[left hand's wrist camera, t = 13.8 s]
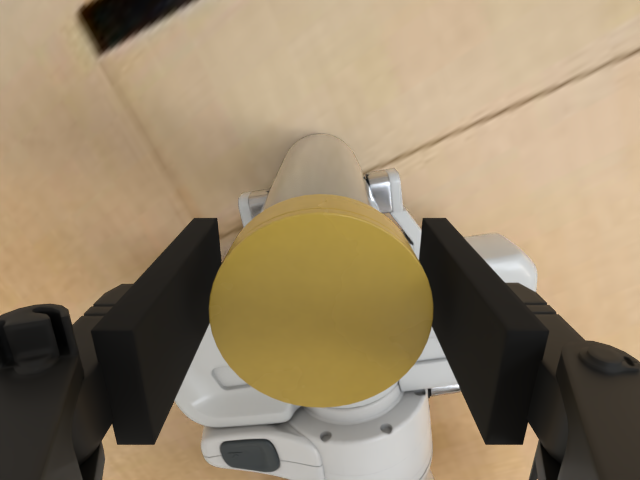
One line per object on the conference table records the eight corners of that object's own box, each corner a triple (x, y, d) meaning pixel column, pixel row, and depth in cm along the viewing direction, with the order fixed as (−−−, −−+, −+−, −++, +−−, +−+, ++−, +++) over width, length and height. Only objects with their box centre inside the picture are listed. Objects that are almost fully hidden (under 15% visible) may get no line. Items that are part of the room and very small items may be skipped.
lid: (412, 366, 13) (425, 406, 11) (233, 369, 13) (221, 409, 11) (425, 191, 11) (443, 210, 9) (212, 195, 11) (194, 215, 9)
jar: (357, 208, 27) (410, 386, 11) (284, 209, 27) (234, 389, 11) (358, 132, 26) (423, 217, 10) (280, 134, 26) (214, 221, 10)
